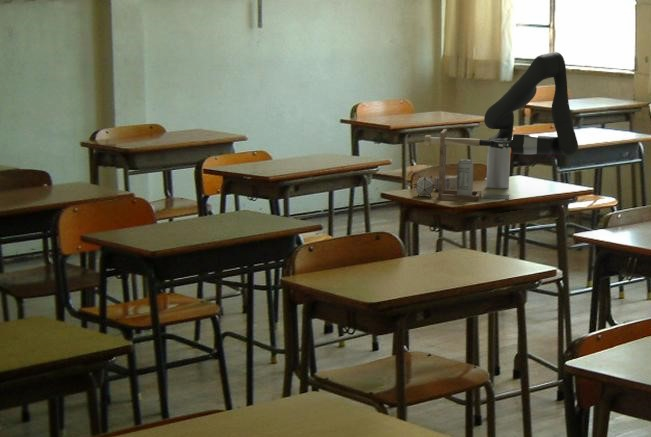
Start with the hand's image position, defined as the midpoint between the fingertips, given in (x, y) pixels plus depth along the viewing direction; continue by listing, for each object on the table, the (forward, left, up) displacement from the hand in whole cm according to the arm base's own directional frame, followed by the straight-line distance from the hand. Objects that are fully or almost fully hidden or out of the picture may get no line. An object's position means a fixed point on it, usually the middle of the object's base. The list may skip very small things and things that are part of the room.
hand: (479, 142), depth 470 cm
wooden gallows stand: (0, -6, -22) cm, 23 cm away
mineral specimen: (-19, -14, -22) cm, 32 cm away
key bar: (0, -11, -2) cm, 11 cm away
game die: (0, -21, -22) cm, 30 cm away
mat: (-6, +7, -22) cm, 24 cm away
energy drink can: (0, -5, -22) cm, 23 cm away
